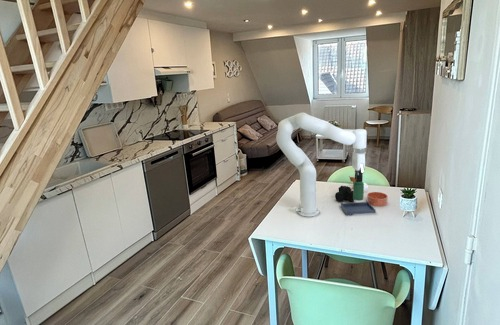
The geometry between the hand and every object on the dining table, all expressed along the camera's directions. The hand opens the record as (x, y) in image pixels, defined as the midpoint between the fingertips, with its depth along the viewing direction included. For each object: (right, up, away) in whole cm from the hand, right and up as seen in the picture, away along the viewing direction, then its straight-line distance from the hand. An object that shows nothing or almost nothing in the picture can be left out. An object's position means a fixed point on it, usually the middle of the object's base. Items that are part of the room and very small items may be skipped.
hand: (358, 179), depth 185 cm
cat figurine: (+11, -9, +38) cm, 41 cm away
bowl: (+16, -16, +13) cm, 26 cm away
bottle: (+1, -12, +3) cm, 12 cm away
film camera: (-3, -15, +22) cm, 27 cm away
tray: (+1, -19, +5) cm, 20 cm away
